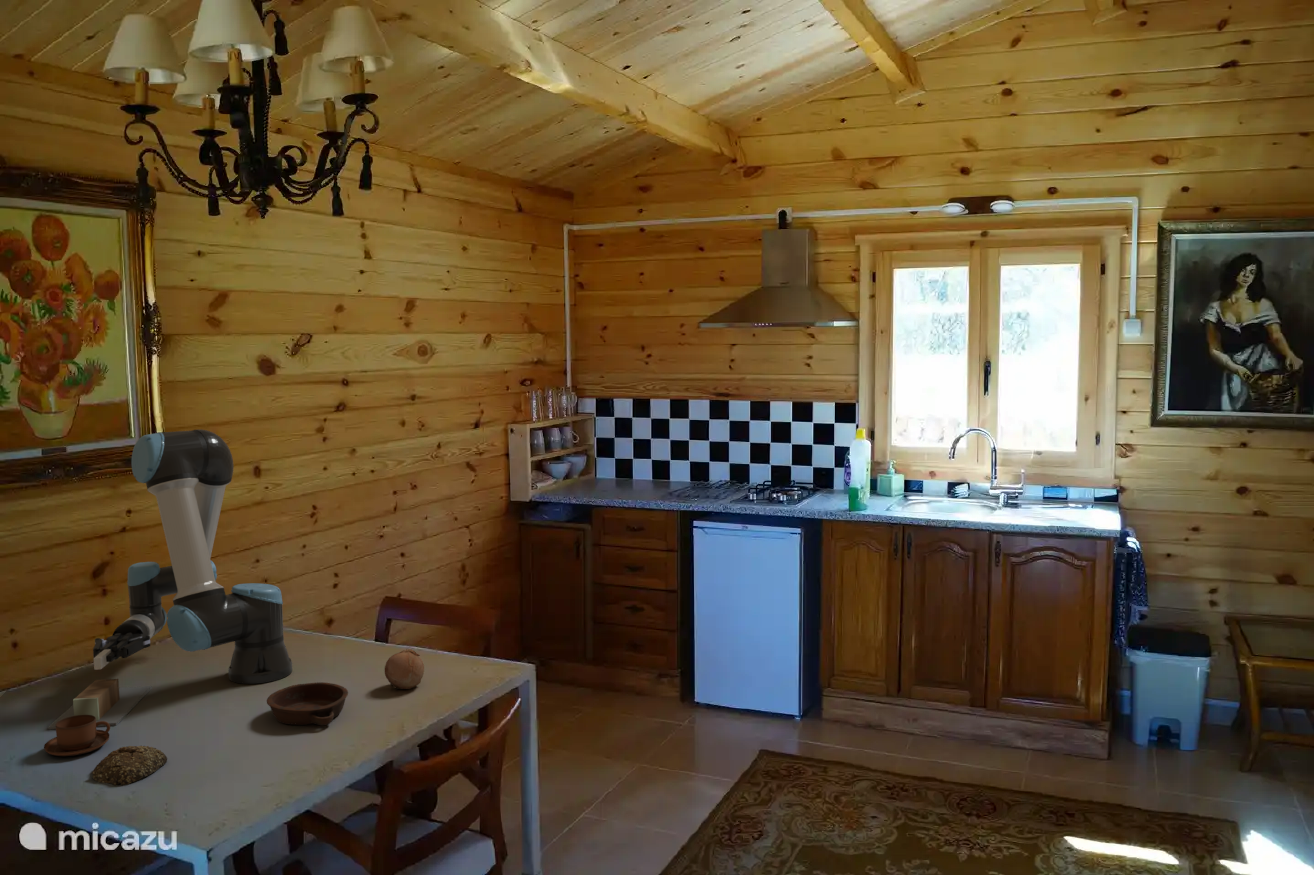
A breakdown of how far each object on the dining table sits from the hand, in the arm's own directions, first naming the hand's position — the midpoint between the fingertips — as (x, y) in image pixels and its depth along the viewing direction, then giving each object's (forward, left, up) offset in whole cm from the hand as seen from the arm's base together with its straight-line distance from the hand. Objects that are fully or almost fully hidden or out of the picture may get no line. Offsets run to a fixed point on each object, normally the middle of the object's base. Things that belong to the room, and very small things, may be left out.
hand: (97, 663), depth 235 cm
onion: (-57, -37, -11) cm, 69 cm away
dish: (-47, -14, -12) cm, 51 cm away
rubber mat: (+1, -1, -11) cm, 11 cm away
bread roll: (-33, +22, -12) cm, 42 cm away
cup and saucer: (-15, +18, -11) cm, 26 cm away
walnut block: (+2, -4, -8) cm, 9 cm away
